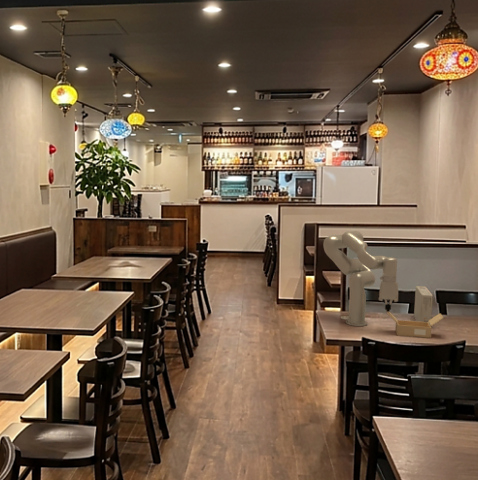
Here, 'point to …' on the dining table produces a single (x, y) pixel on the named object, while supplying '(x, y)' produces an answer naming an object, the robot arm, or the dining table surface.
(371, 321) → the dining table surface
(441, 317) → the flap
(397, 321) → the flap
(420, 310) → the packaging
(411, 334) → the carton
